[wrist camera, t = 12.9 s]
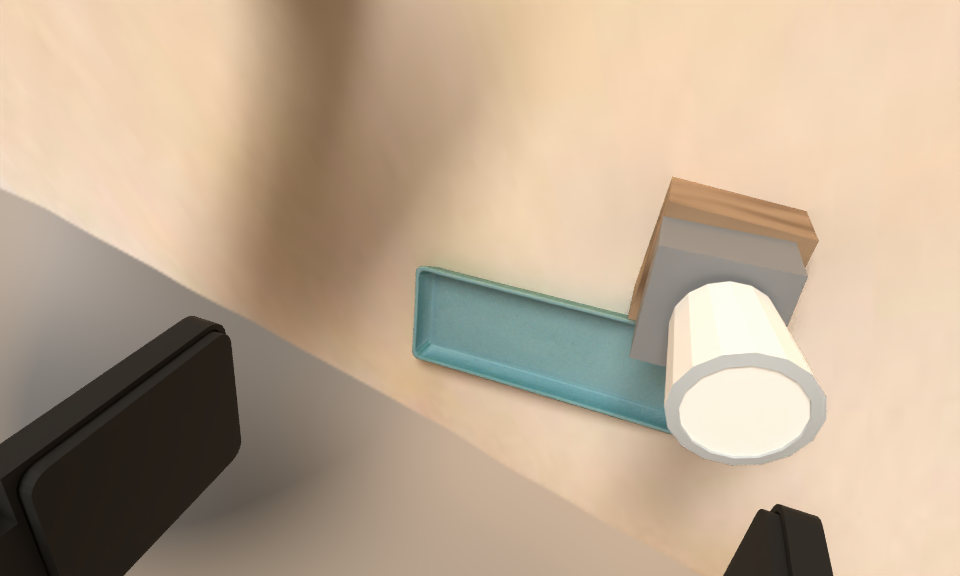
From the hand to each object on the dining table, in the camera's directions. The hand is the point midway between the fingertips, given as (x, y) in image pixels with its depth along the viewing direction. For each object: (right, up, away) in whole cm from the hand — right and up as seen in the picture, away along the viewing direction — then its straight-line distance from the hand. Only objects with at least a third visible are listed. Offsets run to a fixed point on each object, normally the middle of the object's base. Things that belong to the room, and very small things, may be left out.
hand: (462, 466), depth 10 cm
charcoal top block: (+14, +3, +27) cm, 31 cm away
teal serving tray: (+8, -1, +38) cm, 39 cm away
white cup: (+14, +1, +23) cm, 27 cm away
